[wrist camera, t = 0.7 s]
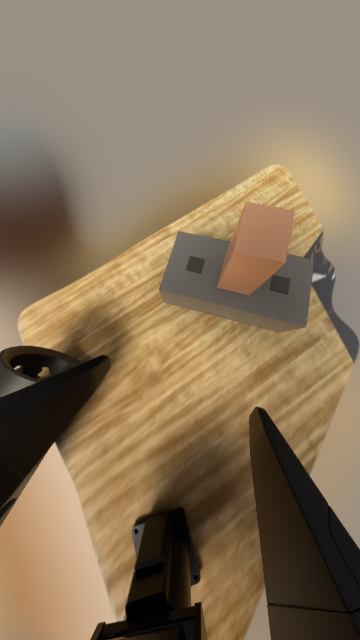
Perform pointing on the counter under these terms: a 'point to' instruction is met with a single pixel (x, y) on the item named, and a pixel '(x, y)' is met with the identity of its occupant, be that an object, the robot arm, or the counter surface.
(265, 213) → the plug
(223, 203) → the counter surface
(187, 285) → the socket block
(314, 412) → the counter surface
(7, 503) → the muzzle brake
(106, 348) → the counter surface
